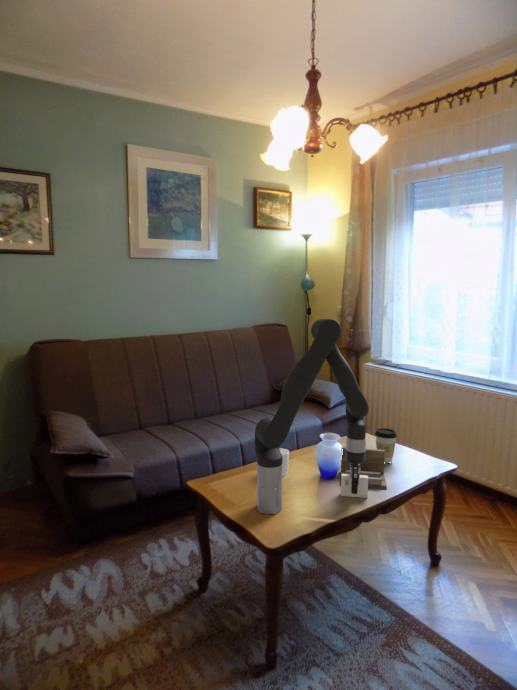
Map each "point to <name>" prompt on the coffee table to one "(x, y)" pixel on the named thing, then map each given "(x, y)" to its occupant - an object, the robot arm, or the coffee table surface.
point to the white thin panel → (347, 486)
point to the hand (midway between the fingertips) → (354, 491)
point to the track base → (369, 467)
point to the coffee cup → (386, 442)
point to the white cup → (284, 461)
